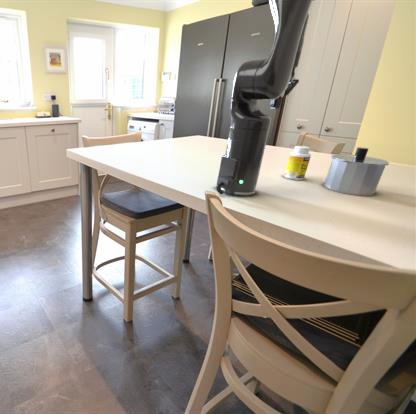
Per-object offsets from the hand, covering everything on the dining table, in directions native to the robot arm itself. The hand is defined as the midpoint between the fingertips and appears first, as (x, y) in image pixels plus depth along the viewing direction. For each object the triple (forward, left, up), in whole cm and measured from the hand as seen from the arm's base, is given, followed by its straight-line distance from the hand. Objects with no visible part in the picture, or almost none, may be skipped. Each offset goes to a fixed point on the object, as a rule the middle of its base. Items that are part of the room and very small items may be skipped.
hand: (274, 108), depth 96 cm
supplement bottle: (+2, -13, -21) cm, 25 cm away
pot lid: (+8, -26, -12) cm, 30 cm away
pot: (+8, -26, -21) cm, 34 cm away
